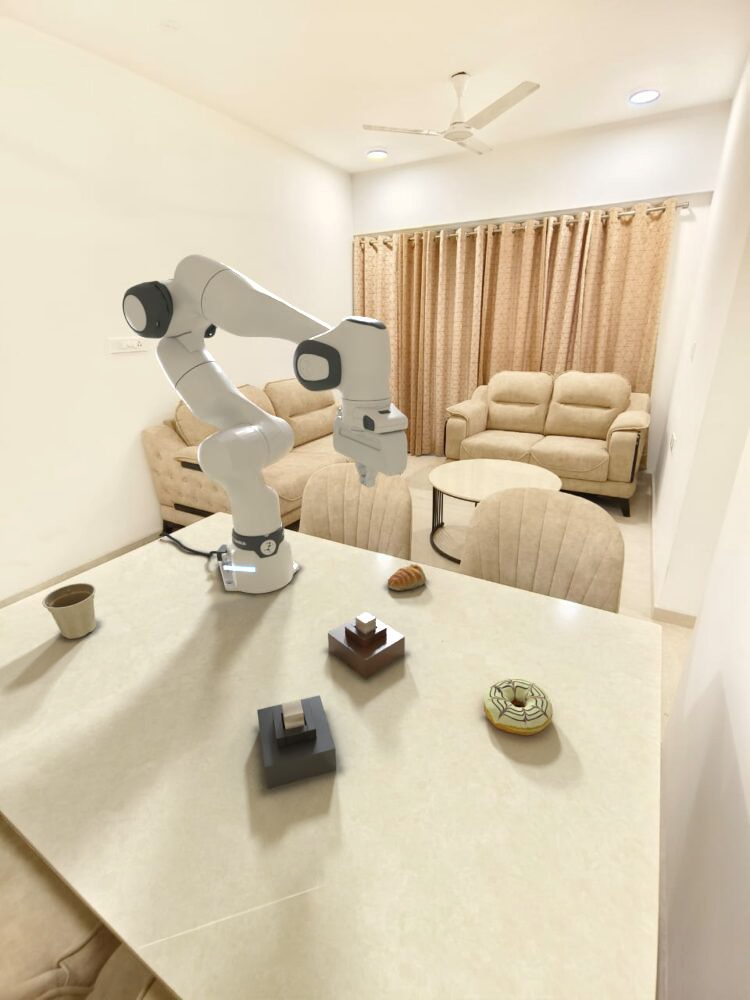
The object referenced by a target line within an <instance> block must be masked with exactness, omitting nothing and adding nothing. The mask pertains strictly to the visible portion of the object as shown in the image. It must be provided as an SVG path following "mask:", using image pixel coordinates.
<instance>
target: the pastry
mask: <svg viewBox="0 0 750 1000" xmlns="http://www.w3.org/2000/svg"><path fill="white" fill-rule="evenodd" d="M425 582H427V577H426V574H425V572H424V570H423V568H422V567H421V565H418V564H413V563H411V564H410V565H408V566H403V567H400V568H399V569H398V570H396V571H395V572H394V573H393V574H391V576H390V577H389V578H388V579H387V587H388V588H389V589H391V590H394V591H398V592H400V591H403V592H404V591H405V590H411V589H412V590H413V589H415V588H417V587H421V586H423V585H424V584H425Z"/></svg>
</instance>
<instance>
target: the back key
mask: <svg viewBox="0 0 750 1000" xmlns="http://www.w3.org/2000/svg"><path fill="white" fill-rule="evenodd" d="M354 619H355V621H356V629H358V630H359V631H361V632H362V633H363V634H367V633H369V632H371V631H372V630H374V629H376V619H377V617H375V616H374V615H372V614H371V613H369V612H368V611H365V612H363V613H361V614H358V615H357V616H355V617H354Z"/></svg>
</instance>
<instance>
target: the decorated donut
mask: <svg viewBox="0 0 750 1000" xmlns="http://www.w3.org/2000/svg"><path fill="white" fill-rule="evenodd" d="M518 706H519V707H518ZM553 710H554V709H553V704H552V702H551V700H550V698H549V696H548V694H547V692H546V691H545V690H544V688H542V687H541V686H539V685H537V684H536V683H534V682H532V681H529V680H526V679H523V678H520V677H514V678H504V679H502V680H499V681H497V682H495V683H493V684H491V685H489V687H488V688H486V690H485V692H484V696H483V711H484V713H485V717H486V719H488V720H489V721H490V723H491V724H492V725H493V726H494V727H496V728H497V729H499V730H501V731H505V732H506V733H512V734H516V735H521V736H531V735H535V734H537V733H540V732H542V731H543V730H544V729H545V728H546V727H547V726H548V725H549V724H550V723H551V722H552V719H553V715H554V711H553Z"/></svg>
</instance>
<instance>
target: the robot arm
mask: <svg viewBox="0 0 750 1000" xmlns="http://www.w3.org/2000/svg"><path fill="white" fill-rule="evenodd" d="M121 305H122V306H121V307H122V313H123V316H124V319H125V321H126V323H127V325H128V326H129V328H130V329H131V330H132V331H133V332H134V333H135V335H137V336H139V337H141V338H144V339H153V340H154V339H155V340H156V339H157V340H158V339H159V341H158V342H157V345H156V347H155V357H156V359H157V362H158V363H159V366H160V367H161V369H162V371H163V373H164V375H165V377H166V378H167V380H168V382H169V384H170V385H171V386H172V388H174V390H175V392H176V393H177V394H178V396H179V397H180V399H181V400H182V401H183V402H184V404H185V405H186V407H187V408H188V409H189V411H190V412H191V413H192V415H193V416H194V417H195V418H196V419H197V420H198V421H200V422H202V423H204V424H206V425H207V424H208V425H210V426H213V427H216V428H217V429H219V430H217V431H216V432H214V433H212V434H210V435H209V436H207V437H206V438H205V439H203V440H202V441H201V442H200V443H199V445H198V448H197V461H198V465H199V467H200V470H201V471H202V473H203V474H204V475H205V476H206V477H207V478H208V479H210V480H211V481H213V482H216V484H217V483H218V484H219V485H220V486H221V487H222V489H223V490H224V492H225V494H226V496H227V499H228V503H229V507H230V512H231V513H230V514H231V518H232V526H233V527H232V529H231V540H230V541H229V542H228V543H227V544H221V546H219V548H218V549H217V550H211V551H209V553H208V552H202V551H199V550H196V549H192V548H190V547H188V546H186V545H184V544H183V543H182V542H181V541H180V540H178V539H177V538H176V537H173V536H171V534H169V533H167V532H160V533H159V534H158V537H163V536H165V537H166V538H168V539H170V540H171V541H173V542H174V543H176V544H177V545H178V546H179V547H180V548H182V549H183V550H185V551H187V552H190V553H193V554H196V555H201V556H205V557H213V555H216V560H217V562H218V565H219V566H218V567H219V569H220V573H221V574H220V575H221V578H222V581H223V585H224V590H225V591H227V592H241V593H246V594H247V593H248V594H265V593H271V592H274V591H277V590H280V589H282V588H283V587H286V586H287V585H288V584H289V583H290V582H291V581H292V579H293V577H294V574H295V573H297V572H298V571H299V568H300V567H299V564H298V563H296V562H295V561H294V560H293V553H292V548H291V547H292V546H291V543H290V542H291V541H289V540H287V538H285V527H284V523H283V522H282V517H281V505H280V496H279V494H278V492H277V491H276V490H275V488H273V487H271V486H269V485H267V484H266V483H265V480H264V477H263V469H266V468H268V467H270V466H272V465H274V464H276V463H279V462H280V461H281V460H283V459H284V458H285V457H287V455H289V453H291V452H292V451H293V449H294V445H295V433H294V431H293V429H292V427H291V425H290V424H289V423H288V422H287V421H286V420H285V419H284V418H281V417H279V416H276V415H274V414H273V415H272V414H271V413H268V412H267V411H265V410H264V409H262V408H261V407H259V406H258V405H257V404H255V403H254V402H253V401H251V400H250V399H249V398H248V397H246V396H245V395H244V394H243V393H242V392H241V391H240V390H239V389H238V388H237V386H236V385H235V383H233V382H232V380H231V379H230V378H229V377H228V375H227V374H226V372H225V371H224V370H223V368H222V367H221V366H220V364H219V363H218V362H217V360H216V359H215V358H214V357H213V356H212V354H211V353H210V351H209V350H208V348H207V346H206V344H205V339H210V338H213V337H214V336H215V335H216V332H217V329H219V330H221V331H223V332H226V333H229V334H231V335H234V336H236V337H243V338H272V339H280V340H285V341H289V342H291V343H294V344H296V345H297V346H296V348H295V350H294V353H293V359H292V366H293V367H292V368H293V372H294V375H295V378H296V379H297V382H298V383H299V384H300V385H301V386H302V387H303V388H304V389H306V391H307V390H308V391H310V392H315V393H323V392H329V391H333V390H334V391H335V390H337V391H339V392H340V395H341V396H340V398H341V399H340V400H341V405H340V407H339V408H338V409H337V411H336V417H335V418H334V420H333V427H332V428H333V430H332V446H333V449H334V451H335V452H336V453H338V454H340V455H342V456H344V457H347V458H348V459H351V460H353V461H354V466H355V468H356V472H357V474H358V482H359V484H360V485H362V486H364V487H367V488H368V489H370V488H375V486H376V478H377V476H378V474H379V473H380V474H383V475H385V476H387V477H392V476H393V477H394V476H397V475H401V474H403V473H404V472H405V470H406V469H407V465H408V438H407V437H408V436H407V433H406V432H405V430H406V429H408V427H409V418H408V417H407V416H406V415H405V414H404V413H403V412H402V411H401V410H399V408H397V407H396V405H395V404H394V403H393V402H392V393H391V389H390V377H391V373H392V354H391V353H392V352H391V340H390V334H389V331H388V327H387V326H386V325H385V323H383V322H382V321H381V320H379V319H375V318H372V317H367V316H360V315H359V316H358V315H353V316H352V315H351V316H347V317H344V318H343V319H342V320H341V321H340V322H339V323H338V324H337V325H336V326H332V325H330V324H328V323H326V322H324V321H323V320H320V319H319V318H317V317H315V316H313V315H311V314H310V313H307V312H306V311H303V310H302V309H300V308H298V307H296V306H294V305H292V304H291V303H288V302H287V301H285V300H284V299H282V298H280V297H279V296H277V295H275V294H273V293H272V292H270V291H268V290H266V289H265V288H263V287H262V286H260V285H259V284H258V283H256V282H254V281H253V280H251V279H249V278H248V277H247V276H245V275H243V274H242V273H240V272H239V271H237V270H235V269H234V268H232V267H231V266H229V265H228V264H225V263H223V262H221V261H219V260H216V259H214V258H211V257H208V256H206V255H202V254H190V255H187V256H185V257H183V258H182V259H181V260H180V261H179V262H178V263H177V265H176V267H175V270H174V273H173V278H169V279H165V280H164V279H162V280H151V281H145V282H141V283H137V284H134V285H133V286H131V287H129V288H127V290H126V291H125V293H124V295H123V298H122V302H121Z"/></svg>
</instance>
